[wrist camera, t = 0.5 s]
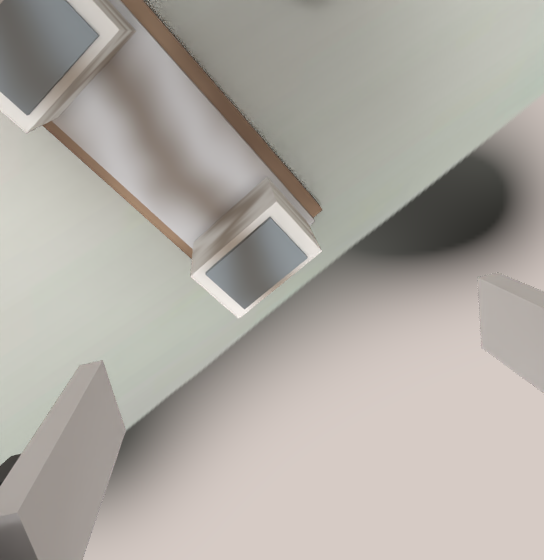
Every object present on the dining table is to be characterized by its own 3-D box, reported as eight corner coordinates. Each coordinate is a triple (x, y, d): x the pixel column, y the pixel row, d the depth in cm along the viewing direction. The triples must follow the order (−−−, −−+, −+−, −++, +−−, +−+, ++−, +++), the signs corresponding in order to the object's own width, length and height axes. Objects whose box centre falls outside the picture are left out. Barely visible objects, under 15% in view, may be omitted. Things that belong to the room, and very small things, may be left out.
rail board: (90, -61, 29) (46, -97, 21) (318, 204, 39) (344, 244, 31) (-14, 65, 31) (-87, 74, 24) (226, 282, 41) (228, 337, 34)
